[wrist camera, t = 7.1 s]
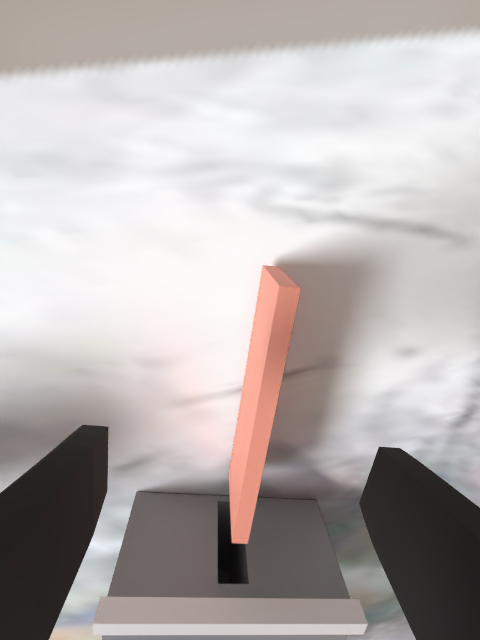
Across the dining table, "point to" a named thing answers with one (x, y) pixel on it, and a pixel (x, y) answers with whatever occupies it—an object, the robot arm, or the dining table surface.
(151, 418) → the dining table surface
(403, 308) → the dining table surface
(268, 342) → the salmon pink plank
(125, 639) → the grey slotted box
